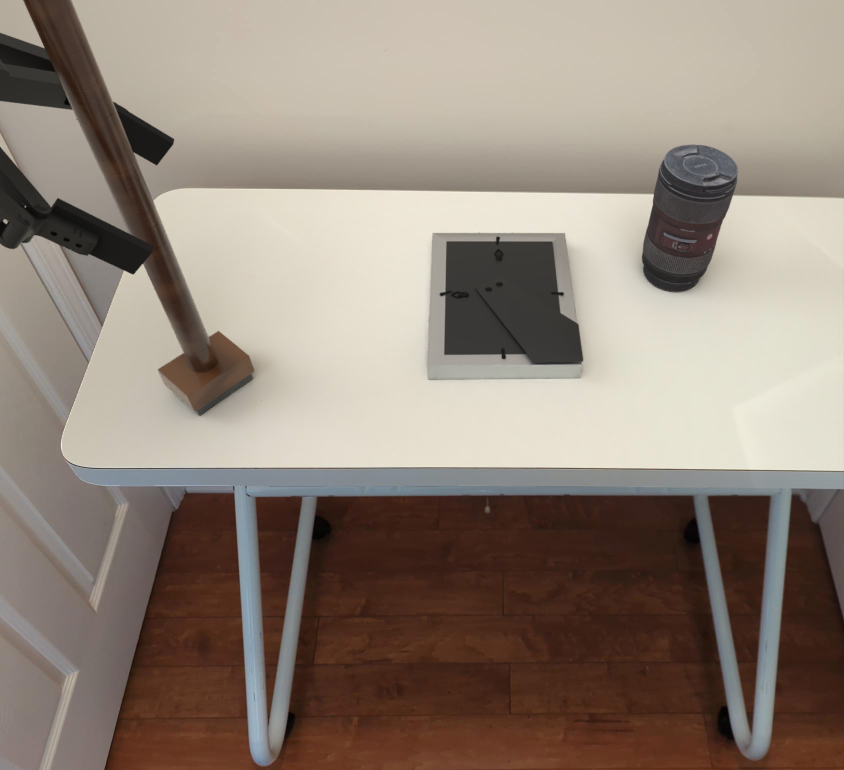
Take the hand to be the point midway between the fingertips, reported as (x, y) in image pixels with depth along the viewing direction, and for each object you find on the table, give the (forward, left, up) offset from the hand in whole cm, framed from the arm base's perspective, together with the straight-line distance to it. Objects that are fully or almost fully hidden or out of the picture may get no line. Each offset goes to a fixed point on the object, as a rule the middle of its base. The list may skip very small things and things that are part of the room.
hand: (155, 202), depth 59 cm
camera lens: (+45, -24, -22) cm, 56 cm away
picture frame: (+27, -13, -22) cm, 37 cm away
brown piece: (-1, +1, -22) cm, 22 cm away
